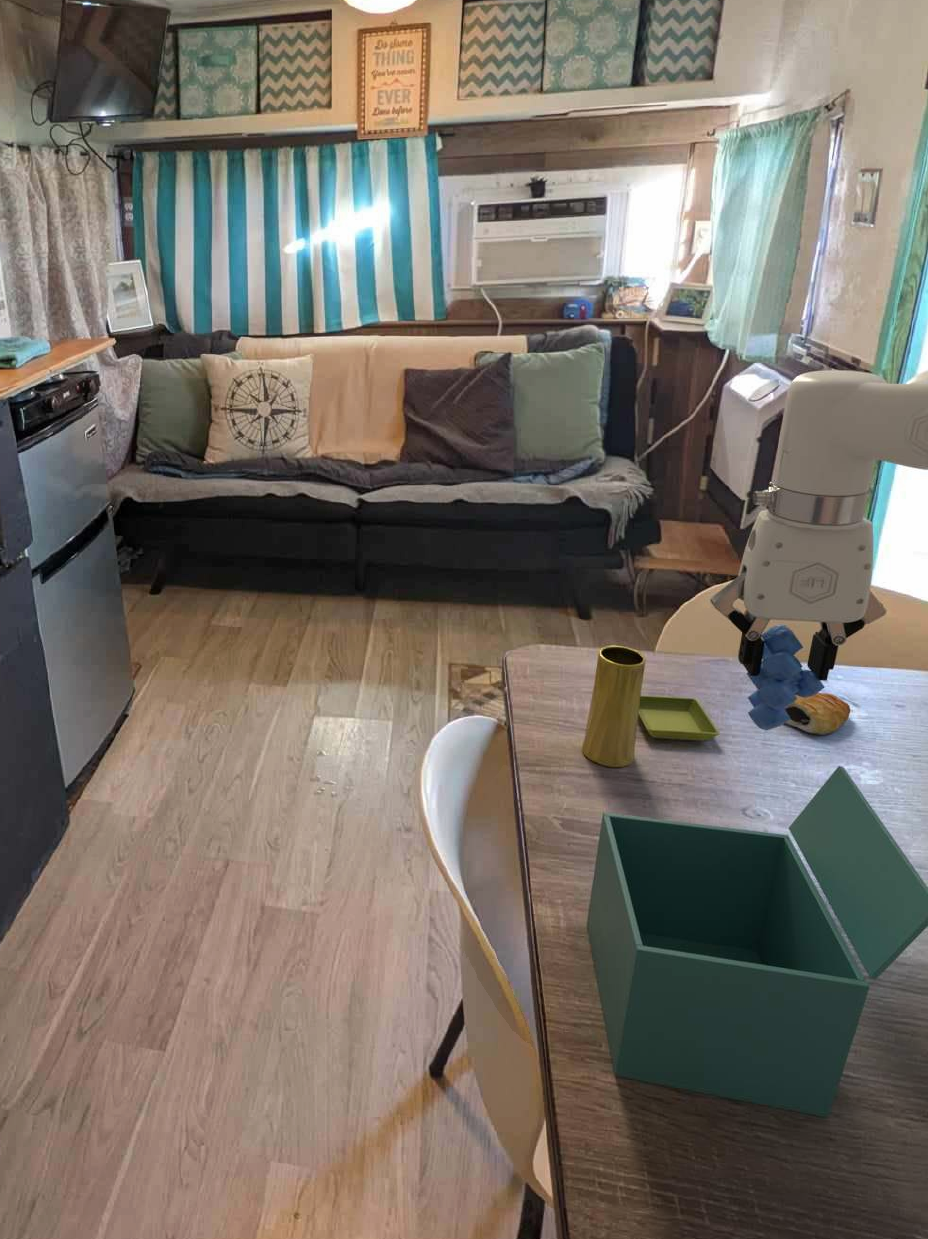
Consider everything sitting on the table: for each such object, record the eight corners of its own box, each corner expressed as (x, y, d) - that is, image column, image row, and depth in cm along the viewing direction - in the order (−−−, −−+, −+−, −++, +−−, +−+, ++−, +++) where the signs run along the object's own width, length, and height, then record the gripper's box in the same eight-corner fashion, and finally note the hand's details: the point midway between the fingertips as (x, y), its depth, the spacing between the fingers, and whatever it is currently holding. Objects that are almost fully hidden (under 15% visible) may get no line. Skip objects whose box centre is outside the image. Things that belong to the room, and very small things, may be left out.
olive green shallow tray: (694, 710, 115) (696, 697, 114) (718, 747, 107) (721, 733, 106) (626, 707, 117) (628, 694, 116) (645, 743, 109) (647, 729, 108)
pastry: (812, 698, 117) (818, 675, 115) (864, 723, 111) (871, 698, 109) (767, 716, 113) (773, 692, 112) (818, 742, 107) (825, 717, 106)
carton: (759, 951, 78) (788, 834, 73) (828, 1118, 64) (870, 986, 59) (586, 924, 82) (602, 812, 77) (614, 1076, 67) (637, 949, 63)
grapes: (817, 768, 82) (844, 659, 77) (737, 750, 85) (758, 645, 81) (808, 710, 91) (831, 610, 87) (736, 696, 94) (755, 599, 90)
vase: (585, 735, 111) (598, 639, 106) (636, 747, 108) (652, 649, 103) (578, 760, 106) (591, 661, 101) (631, 773, 103) (647, 672, 98)
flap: (788, 827, 73) (792, 829, 73) (869, 978, 59) (875, 980, 59) (838, 765, 70) (843, 767, 70) (937, 907, 56) (944, 910, 55)
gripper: (726, 514, 78) (699, 683, 85) (943, 518, 74) (898, 697, 80) (704, 490, 85) (681, 649, 91) (902, 493, 81) (864, 660, 87)
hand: (783, 670), depth 86 cm, fingers closed on grapes, 5 cm apart
